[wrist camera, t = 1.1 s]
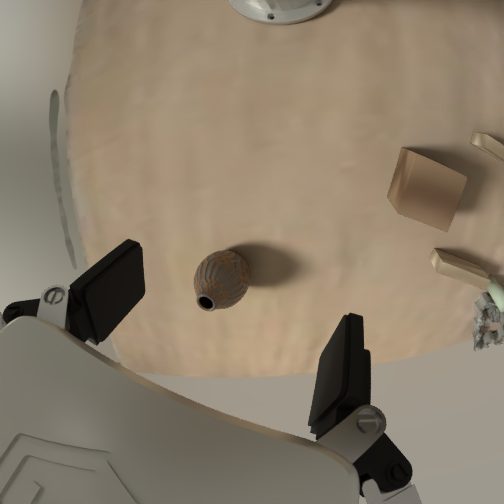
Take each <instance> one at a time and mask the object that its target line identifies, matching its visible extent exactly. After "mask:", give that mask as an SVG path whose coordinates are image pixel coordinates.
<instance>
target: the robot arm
mask: <svg viewBox="0 0 504 504" xmlns="http://www.w3.org/2000/svg"><path fill="white" fill-rule="evenodd" d="M229 2H230V4H231V5H232V6H233V7H234V8H235V9H236V10H237V11H238V12H239V13H240V14H242V15H243V16H245V17H247V18H249V19H251V20H253V21H256V22H260V23H264V24H272V25H287V24H294V23H299V22H302V21H306V20H308V19H311V18H313V17H315V16H317V15H318V14H320V13H321V12H323V11H324V10H325V9H326V8H327V7H328V6H329V5H330V4H331V2H332V0H229ZM317 5H321V6H317ZM273 17H274V19H272V20H271V18H273ZM144 294H145V281H144V268H143V252H142V247H141V246H140V243H138V242H136V241H133V240H130V239H127V240H126V241H124V242H123V243H122V244H120V245H119V246H118V247H116V248H115V249H114V250H112V251H111V252H110V253H109V254H107V255H106V256H105V257H103V258H102V259H101V260H100V261H98V262H97V263H96V264H95V265H93V266H92V267H91V268H90V269H89V270H87V271H86V272H85V273H84V274H82V275H81V276H80V277H79V278H78V279H77V280H75V281H74V282H73V283H72V284H71V285H70V289H69V290H67V288H66V287H64V286H61V285H54V286H51V287H48V288H47V289H46V290H45V291H44V292H43V293H42V295H41V298H40V299H33V300H26V301H19V302H14V303H11V304H10V305H8V306H7V307H6V308H5V310H4V312H3V314H2V313H1V312H0V504H358V503H359V494H360V495H361V496H362V497H365V499H366V502H367V504H422V503H421V500H420V498H419V495H418V492H417V490H416V487H415V485H411V483H410V480H411V477H412V466H411V464H410V462H409V461H408V460H407V459H406V457H405V456H404V455H403V454H402V453H401V452H400V450H399V449H398V448H397V447H396V446H395V445H394V443H393V442H392V441H391V440H390V439H389V437H388V436H387V435H386V434H385V433H384V431H385V429H386V418H385V416H384V414H383V413H382V411H381V410H380V409H378V408H377V407H375V406H372V405H370V400H371V398H370V397H371V355H370V351H369V350H367V349H364V327H363V316H360V315H357V314H354V313H349V314H348V315H344V316H343V317H342V319H341V321H340V323H339V325H338V326H337V328H336V330H335V332H334V333H333V335H332V337H331V339H330V340H329V342H328V344H327V345H326V347H325V349H324V350H323V352H322V354H321V356H320V359H319V365H318V372H317V378H316V384H315V390H314V395H313V401H312V406H311V412H310V416H309V421H308V426H312V427H311V431H310V433H313V434H316V440H317V441H316V442H313V441H311V440H308V439H305V438H301V437H298V436H295V435H292V434H288V433H284V432H281V431H277V430H274V429H270V428H267V427H264V426H261V425H258V424H254V423H252V422H249V421H246V420H243V419H240V418H237V417H234V416H231V415H228V414H225V413H223V412H220V411H217V410H215V409H212V408H209V407H207V406H205V405H202V404H200V403H197V402H195V401H192V400H190V399H188V398H185V397H183V396H181V395H179V394H177V393H174V392H172V391H170V390H168V389H166V388H164V387H162V386H160V385H157V384H155V383H153V382H151V381H149V380H147V379H146V378H144V377H142V376H140V375H138V374H136V373H134V372H132V371H131V370H129V369H127V368H125V367H123V366H122V365H120V364H118V363H116V362H115V361H113V360H111V359H109V358H108V357H106V356H105V355H103V354H101V353H100V352H98V351H96V350H95V349H93V348H92V347H90V346H89V345H87V344H85V342H86V341H87V340H89V341H90V342H92V343H93V344H95V345H98V344H99V342H100V341H101V342H103V341H104V340H105V339H106V338H107V337H108V336H109V334H110V333H111V332H112V331H113V330H114V329H115V328H116V326H117V325H118V324H119V323H120V322H121V321H122V320H123V319H124V317H125V316H126V315H127V314H128V313H129V312H130V311H131V310H132V308H133V307H134V306H135V305H136V304H137V303H138V302H139V301H140V300H141V299H142V298H143V296H144Z"/></svg>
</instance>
